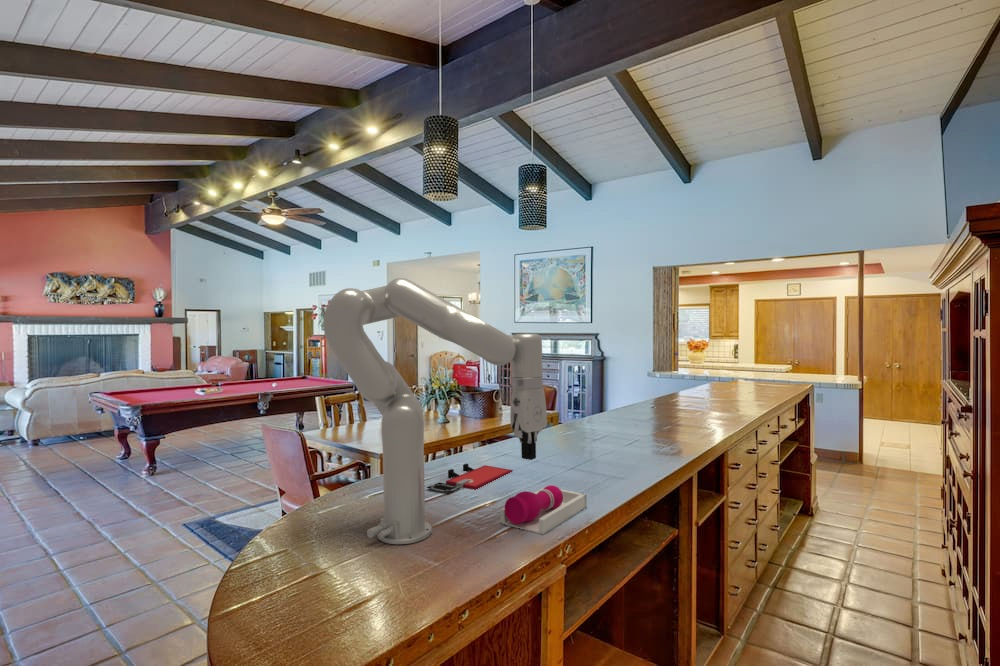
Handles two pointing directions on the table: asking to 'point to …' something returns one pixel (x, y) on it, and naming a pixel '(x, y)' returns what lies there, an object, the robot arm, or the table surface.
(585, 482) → the table surface
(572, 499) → the grey tray
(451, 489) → the red board with handle
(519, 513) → the pepper mill
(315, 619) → the table surface
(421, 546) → the table surface
